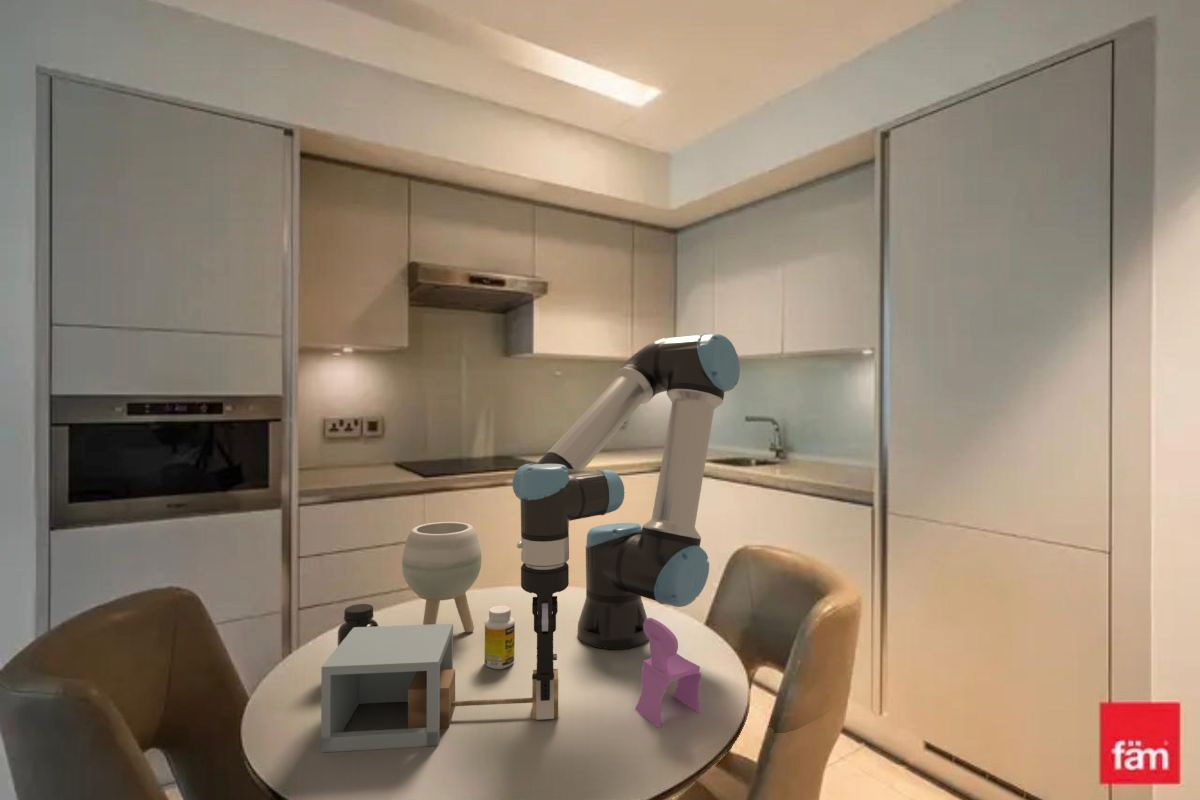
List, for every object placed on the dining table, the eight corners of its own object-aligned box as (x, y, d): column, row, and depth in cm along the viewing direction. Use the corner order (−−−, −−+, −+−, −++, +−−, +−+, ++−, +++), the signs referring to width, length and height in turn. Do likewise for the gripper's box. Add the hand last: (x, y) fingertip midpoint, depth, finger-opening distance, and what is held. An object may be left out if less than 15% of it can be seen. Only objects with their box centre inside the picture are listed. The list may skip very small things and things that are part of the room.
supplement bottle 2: (507, 672, 104) (507, 615, 104) (479, 668, 106) (479, 613, 106) (519, 658, 110) (519, 605, 110) (492, 655, 111) (492, 602, 111)
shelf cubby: (452, 695, 96) (453, 623, 96) (438, 745, 82) (438, 661, 82) (353, 700, 94) (353, 627, 94) (321, 752, 80) (321, 666, 80)
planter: (496, 629, 124) (497, 525, 124) (439, 657, 110) (439, 540, 110) (444, 613, 132) (445, 517, 132) (385, 638, 119) (385, 530, 119)
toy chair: (707, 714, 90) (707, 619, 90) (663, 731, 86) (664, 631, 86) (672, 691, 97) (673, 603, 97) (631, 706, 93) (631, 614, 93)
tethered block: (557, 701, 94) (557, 665, 94) (558, 722, 88) (558, 683, 88) (417, 708, 92) (417, 670, 92) (408, 729, 86) (408, 689, 86)
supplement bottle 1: (363, 686, 99) (363, 616, 99) (328, 682, 100) (328, 613, 100) (386, 667, 106) (386, 602, 106) (352, 664, 107) (353, 600, 107)
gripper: (522, 549, 98) (523, 685, 99) (518, 580, 82) (518, 743, 82) (566, 548, 99) (566, 683, 99) (570, 578, 83) (571, 740, 83)
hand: (545, 710), depth 91 cm, fingers closed on tethered block, 3 cm apart
